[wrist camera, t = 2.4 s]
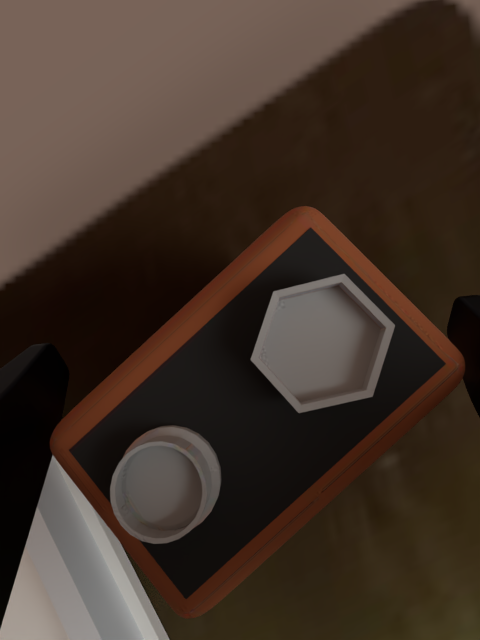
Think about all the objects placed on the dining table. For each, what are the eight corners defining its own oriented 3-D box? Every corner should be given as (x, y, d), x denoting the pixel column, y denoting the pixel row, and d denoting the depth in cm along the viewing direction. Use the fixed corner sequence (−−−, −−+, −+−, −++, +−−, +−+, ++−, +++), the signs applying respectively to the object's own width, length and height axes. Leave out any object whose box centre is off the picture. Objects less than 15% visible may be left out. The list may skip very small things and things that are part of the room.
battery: (366, 360, 15) (524, 371, 5) (240, 476, 15) (168, 692, 6) (290, 281, 16) (309, 161, 6) (169, 393, 16) (-9, 454, 6)
